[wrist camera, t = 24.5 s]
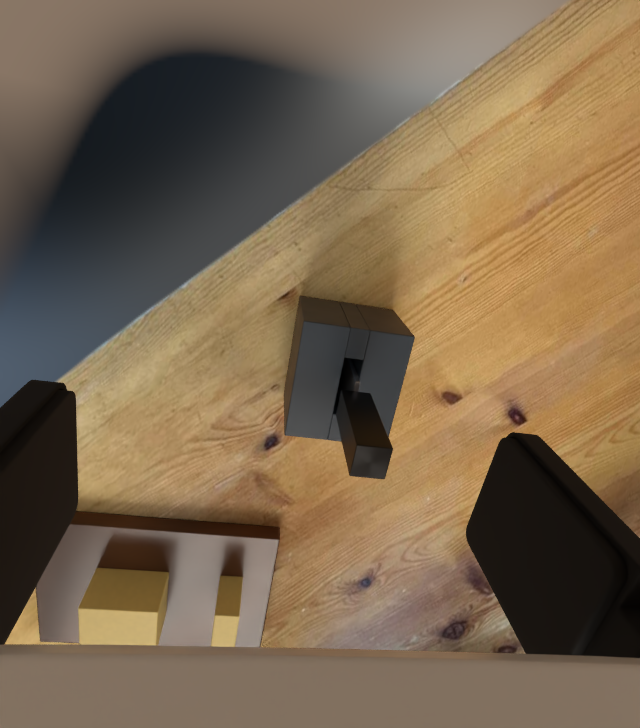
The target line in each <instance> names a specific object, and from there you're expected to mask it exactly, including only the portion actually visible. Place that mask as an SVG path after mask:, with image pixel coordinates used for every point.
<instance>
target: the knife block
mask: <svg viewBox="0 0 640 728" xmlns="http://www.w3.org/2000/svg"><path fill="white" fill-rule="evenodd" d="M414 338H415V337H414V335H413V334H412V333H411V332H410V330H409V329H408V328H407V327H406V325H405V324H404V323H403V322H402V320H401V319H400V318H399V317H398V315H397V314H396V313H395V312H394V310H391V309H384V308H378V307H371V306H364V305H358V304H356V305H355V304H352V303H345V302H338V301H331V300H325V299H318V298H311V297H305V296H300V297H299V303H298V309H297V315H296V321H295V328H294V334H293V340H292V346H291V353H290V359H289V365H288V371H287V378H286V384H285V390H284V430H285V435H287V436H296V437H306V438H315V439H325V440H327V439H328V440H333V441H342V440H341V435H340V431H339V426H338V422H337V418H336V413H337V408H338V404H339V396H338V392H337V391H338V386H339V381H340V376H341V372H342V367H343V362H344V357H345V358H351V359H352V361H353V364H354V367H355V369H356V372H357V375H358V377H359V380H360V387H359V391H358V392H365V393H371V396H372V398H373V401H374V403H375V406H376V408H377V411H378V413H379V415H380V418H381V420H382V423H383V425H384V428H385V430H386V433H387V435H388V437H389V433H390V429H391V426H392V422H393V418H394V414H395V410H396V407H397V403H398V399H399V395H400V391H401V388H402V384H403V380H404V376H405V373H406V369H407V365H408V361H409V357H410V354H411V350H412V346H413V342H414Z"/></svg>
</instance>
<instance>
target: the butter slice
mask: <svg viewBox="0 0 640 728" xmlns="http://www.w3.org/2000/svg"><path fill="white" fill-rule="evenodd" d="M242 583H243V577H236V576H220V581H219V588H218V594H217V601H216V608H215V615H214V623H213V631H212V639H211V646H214V647H235V643H236V636H237V630H238V623H239V617H240V606H241V595H242Z"/></svg>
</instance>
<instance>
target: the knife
mask: <svg viewBox="0 0 640 728" xmlns="http://www.w3.org/2000/svg"><path fill="white" fill-rule="evenodd" d="M359 387H360V380H359V377H358V375H357V372H356V369H355V367H354V364H353V361H352V359H351V358H345V357H344V362H343V367H342V372H341V376H340V381H339V386H338V391H337V392H338V396H339V404H338V408H337V413H336V418H337V422H338V426H339V431H340V435H341V440H342V444H343V449H344V453H345V457H346V462H347V466H348V471H349V475H350V476H356V477H367V478H377V479H385V476H386V473H387V469H388V465H389V462H390V458H391V454H392V451H393V448H392V445H391V443H390V440H389V438H388V435H387V433H386V430H385V428H384V425H383V423H382V420H381V418H380V415H379V413H378V411H377V408H376V406H375V403H374V401H373V398H372V396H371V393H365V392H358V391H359Z"/></svg>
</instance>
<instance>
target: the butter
mask: <svg viewBox="0 0 640 728" xmlns="http://www.w3.org/2000/svg"><path fill="white" fill-rule="evenodd" d="M168 580H169V572H157V571H142V570H126V569H110V568H96V570H95V573H94V575H93V577H92V579H91V581H90V583H89V586H88V588H87V590H86V592H85V594H84V597H83V599H82V601H81V603H80V605H79V607H78V618H79V645H157V646H158V644H159V640H160V636H161V632H162V628H163V624H164V620H165V616H166V610H167V595H168Z"/></svg>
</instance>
